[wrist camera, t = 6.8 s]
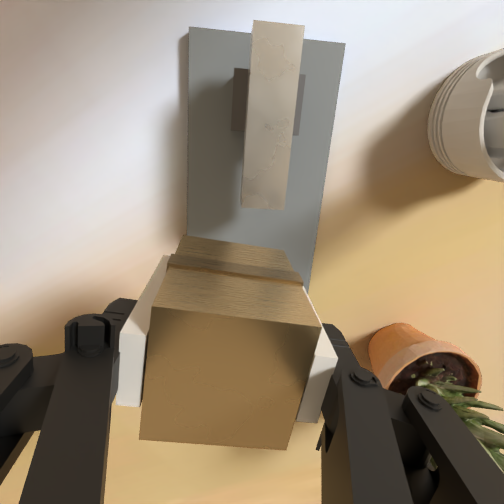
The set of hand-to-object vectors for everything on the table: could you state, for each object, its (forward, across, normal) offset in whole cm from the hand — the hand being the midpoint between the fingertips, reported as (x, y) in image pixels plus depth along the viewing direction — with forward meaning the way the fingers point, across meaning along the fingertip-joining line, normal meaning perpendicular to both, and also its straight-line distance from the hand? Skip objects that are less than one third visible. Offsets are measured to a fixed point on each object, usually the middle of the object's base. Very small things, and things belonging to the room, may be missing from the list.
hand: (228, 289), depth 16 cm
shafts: (+10, +3, +1) cm, 11 cm away
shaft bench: (+15, +2, +1) cm, 15 cm away
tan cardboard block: (0, 0, 0) cm, 0 cm away
